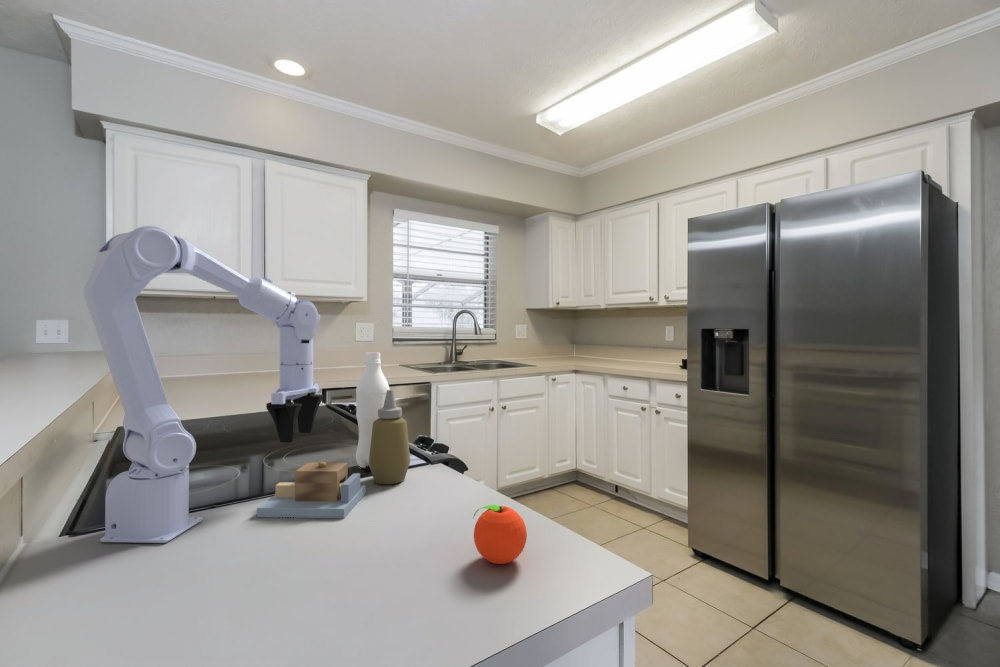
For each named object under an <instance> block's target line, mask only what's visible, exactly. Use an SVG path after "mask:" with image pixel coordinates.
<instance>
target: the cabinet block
mask: <svg viewBox="0 0 1000 667" xmlns="http://www.w3.org/2000/svg"><path fill="white" fill-rule="evenodd" d="M348 467H349V463H348V462H326V461H319V462H313V461H311V462H309V461H307V462H306V463H305V464H304V465H302V466H300V467H299V468H298V469H295V471H294V482H295V501H325V502H337V501H338V500H339V483H344V482H345V481H346V480H347V479H348V478H349V476H348V475H349V474H348V473H349V472H348V470H349V468H348Z"/></svg>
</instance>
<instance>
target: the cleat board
mask: <svg viewBox="0 0 1000 667" xmlns="http://www.w3.org/2000/svg"><path fill="white" fill-rule="evenodd" d="M274 490H275V492H274V493H275V494H274V495H273V496H272V497H270V498H268V499H267V500H266V501H265V502H263V503H262V504H260V505H259V506H257V507H256V518H278V517H280V518H282V517H283V518H285V517H286V518H287V517H289V519H290V517H291V518H292V519H293V517H294V519H295V518H297V519H304V518H305V519H345V518H346V517H348V515H349V514H350V512H351V511H352V510H353V509H354V508H355V507H356V505H357V504H358V503H359V502H360V501H361V500H362V498H363V497H364V496H365V495H366V494H365V493H366V485H361V473H359V472H356V473H355V472H353V473H352V474H351V475H350V476H348V479H347V480H346V481H345V482H344V483H339V500H338V501H337V502H325V501H295V481H294V482H292V481H291V482H290V481H289V482H285V481H284V482H278V483H277V484H275V488H274ZM364 494H365V495H364ZM363 495H364V496H363ZM360 499H361V500H360ZM359 500H360V501H359ZM358 501H359V502H358ZM353 507H354V508H353ZM280 518H279V519H280ZM286 518H285V519H286Z"/></svg>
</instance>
